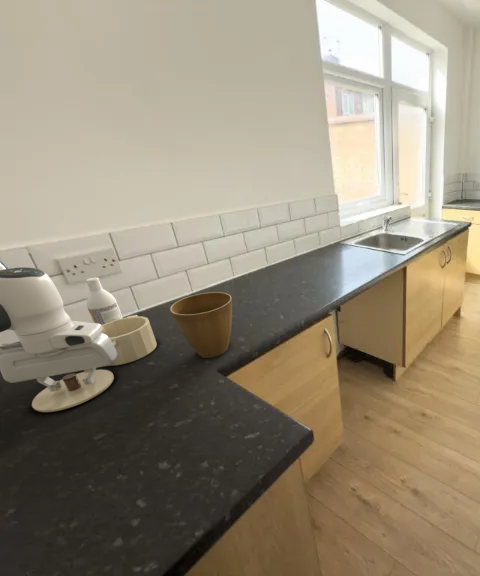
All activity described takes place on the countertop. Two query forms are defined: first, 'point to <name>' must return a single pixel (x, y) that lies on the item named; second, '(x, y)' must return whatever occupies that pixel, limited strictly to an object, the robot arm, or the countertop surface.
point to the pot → (130, 338)
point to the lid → (72, 391)
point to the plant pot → (205, 322)
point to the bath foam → (101, 303)
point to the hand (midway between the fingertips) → (73, 386)
